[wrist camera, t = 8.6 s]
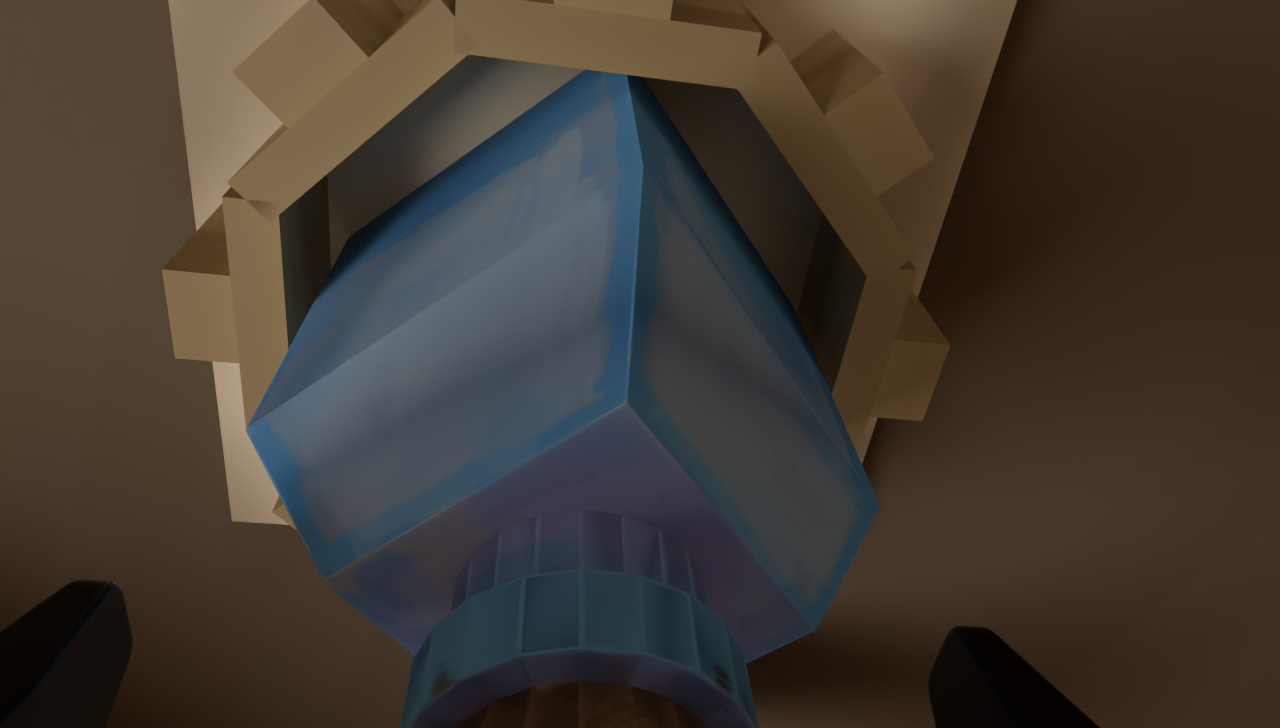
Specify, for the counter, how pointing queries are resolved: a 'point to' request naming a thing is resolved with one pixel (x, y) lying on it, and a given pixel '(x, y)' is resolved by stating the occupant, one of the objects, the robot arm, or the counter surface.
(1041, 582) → the counter surface
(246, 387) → the gear board
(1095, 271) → the counter surface
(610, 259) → the perfume bottle
